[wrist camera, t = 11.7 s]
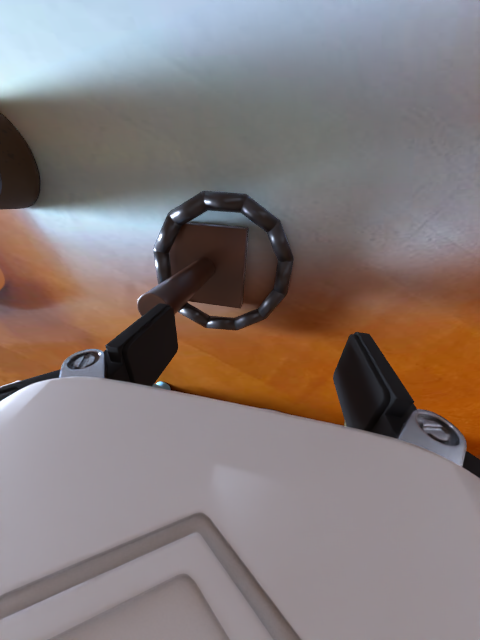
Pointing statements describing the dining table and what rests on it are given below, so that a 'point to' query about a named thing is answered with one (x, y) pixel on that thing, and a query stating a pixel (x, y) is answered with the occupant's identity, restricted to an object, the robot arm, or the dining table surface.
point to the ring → (256, 215)
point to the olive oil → (16, 169)
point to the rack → (203, 268)
